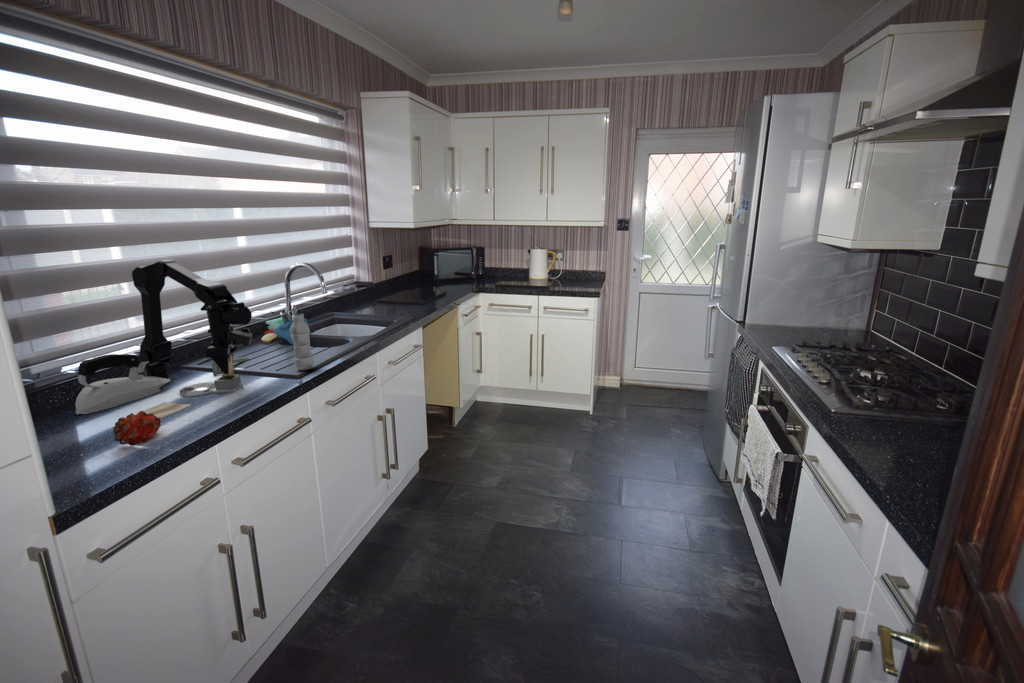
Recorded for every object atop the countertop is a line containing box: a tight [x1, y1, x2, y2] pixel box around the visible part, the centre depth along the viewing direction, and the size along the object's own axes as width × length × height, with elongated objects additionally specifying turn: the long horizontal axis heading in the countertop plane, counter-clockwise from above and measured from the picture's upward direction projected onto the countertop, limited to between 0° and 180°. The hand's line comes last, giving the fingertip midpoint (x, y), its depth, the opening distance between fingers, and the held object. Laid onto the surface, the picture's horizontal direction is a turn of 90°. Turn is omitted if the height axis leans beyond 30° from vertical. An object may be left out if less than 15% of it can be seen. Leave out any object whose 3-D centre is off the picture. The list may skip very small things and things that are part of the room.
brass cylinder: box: [221, 355, 234, 380], centre depth 165 cm, size 3×3×10 cm
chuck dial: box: [179, 374, 244, 398], centre depth 165 cm, size 18×11×4 cm, turn 94°
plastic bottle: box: [289, 313, 315, 371], centre depth 183 cm, size 6×7×20 cm
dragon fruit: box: [112, 410, 162, 447], centre depth 129 cm, size 8×8×12 cm
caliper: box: [211, 356, 250, 376], centre depth 191 cm, size 20×1×6 cm, turn 176°
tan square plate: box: [134, 401, 191, 419], centre depth 149 cm, size 10×10×1 cm
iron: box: [74, 353, 172, 415], centre depth 157 cm, size 11×24×15 cm, turn 155°
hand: (228, 372), depth 165 cm, fingers open, 4 cm apart
